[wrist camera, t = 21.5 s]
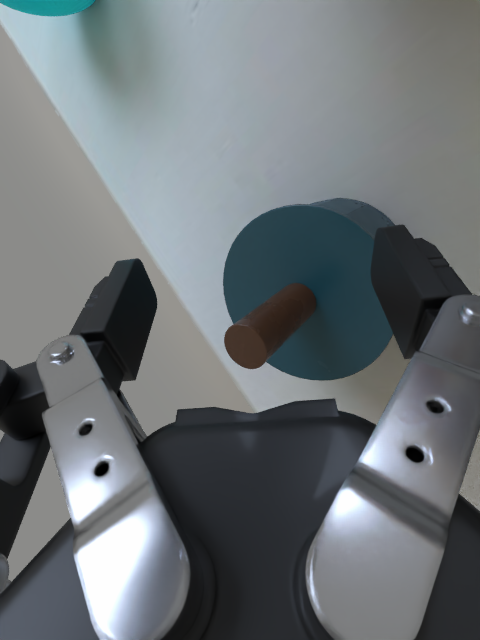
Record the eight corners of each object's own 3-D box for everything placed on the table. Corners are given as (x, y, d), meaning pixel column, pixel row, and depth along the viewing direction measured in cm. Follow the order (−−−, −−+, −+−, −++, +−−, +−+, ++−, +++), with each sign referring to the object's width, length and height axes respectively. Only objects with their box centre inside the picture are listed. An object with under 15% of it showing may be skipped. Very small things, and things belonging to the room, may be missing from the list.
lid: (205, 259, 27) (125, 291, 21) (338, 158, 19) (273, 161, 13) (281, 388, 28) (227, 455, 22) (439, 344, 20) (425, 431, 14)
